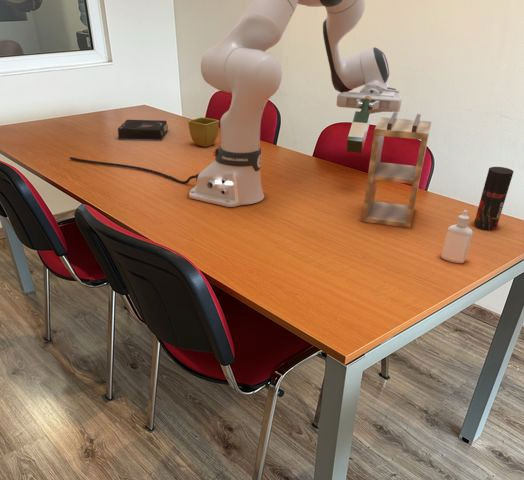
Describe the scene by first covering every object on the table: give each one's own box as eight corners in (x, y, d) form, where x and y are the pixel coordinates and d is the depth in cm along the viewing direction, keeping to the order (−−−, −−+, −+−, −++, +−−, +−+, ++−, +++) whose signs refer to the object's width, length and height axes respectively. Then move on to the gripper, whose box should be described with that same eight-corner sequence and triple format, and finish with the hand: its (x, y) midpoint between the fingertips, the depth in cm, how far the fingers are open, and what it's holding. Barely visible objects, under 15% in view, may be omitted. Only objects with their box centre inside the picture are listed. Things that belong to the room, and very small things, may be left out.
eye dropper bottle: (454, 265, 120) (467, 216, 113) (437, 256, 124) (449, 208, 117) (468, 262, 122) (482, 213, 115) (451, 253, 126) (463, 205, 119)
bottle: (361, 153, 154) (362, 141, 150) (346, 151, 155) (347, 140, 151) (374, 105, 161) (375, 93, 157) (360, 104, 162) (361, 92, 158)
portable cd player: (161, 140, 205) (160, 130, 203) (119, 139, 205) (117, 128, 203) (168, 130, 219) (167, 120, 216) (128, 129, 219) (127, 119, 216)
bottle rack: (361, 221, 141) (375, 122, 126) (368, 204, 152) (382, 111, 137) (409, 228, 138) (429, 127, 123) (413, 210, 149) (432, 115, 134)
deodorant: (494, 231, 137) (511, 175, 128) (471, 226, 140) (486, 170, 131) (498, 224, 141) (515, 169, 132) (476, 220, 144) (491, 165, 135)
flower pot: (220, 144, 202) (219, 120, 197) (206, 149, 196) (205, 124, 191) (202, 141, 206) (201, 117, 201) (188, 145, 200) (187, 121, 195)
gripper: (341, 85, 169) (333, 92, 158) (404, 90, 164) (400, 97, 154) (339, 106, 173) (331, 114, 162) (401, 111, 168) (396, 120, 157)
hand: (365, 106), depth 158 cm, fingers closed on bottle, 2 cm apart
